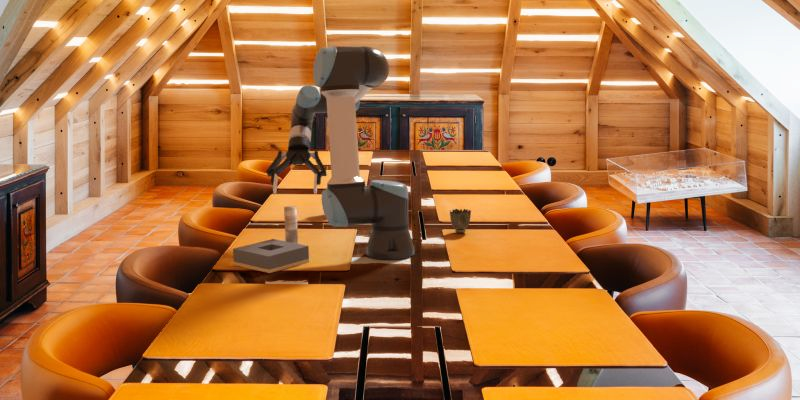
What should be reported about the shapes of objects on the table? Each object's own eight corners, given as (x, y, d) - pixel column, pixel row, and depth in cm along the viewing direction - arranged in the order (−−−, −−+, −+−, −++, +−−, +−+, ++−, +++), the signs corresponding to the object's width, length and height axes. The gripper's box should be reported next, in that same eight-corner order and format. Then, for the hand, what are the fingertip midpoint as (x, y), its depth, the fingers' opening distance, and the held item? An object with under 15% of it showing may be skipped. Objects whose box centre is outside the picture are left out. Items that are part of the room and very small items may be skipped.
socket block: (309, 261, 251) (308, 245, 250) (269, 273, 239) (268, 256, 238) (273, 254, 261) (272, 238, 260) (233, 264, 249) (233, 248, 248)
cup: (457, 229, 293) (457, 207, 291) (475, 232, 288) (475, 209, 287) (445, 233, 287) (445, 210, 286) (462, 236, 283) (462, 213, 281)
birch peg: (300, 249, 267) (299, 206, 265) (291, 251, 264) (290, 208, 262) (292, 247, 270) (290, 205, 267) (283, 249, 267) (281, 207, 264)
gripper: (336, 148, 289) (333, 198, 278) (265, 148, 290) (259, 198, 278) (334, 134, 283) (330, 185, 271) (262, 135, 284) (255, 185, 272)
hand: (294, 192), depth 275 cm, fingers open, 13 cm apart
